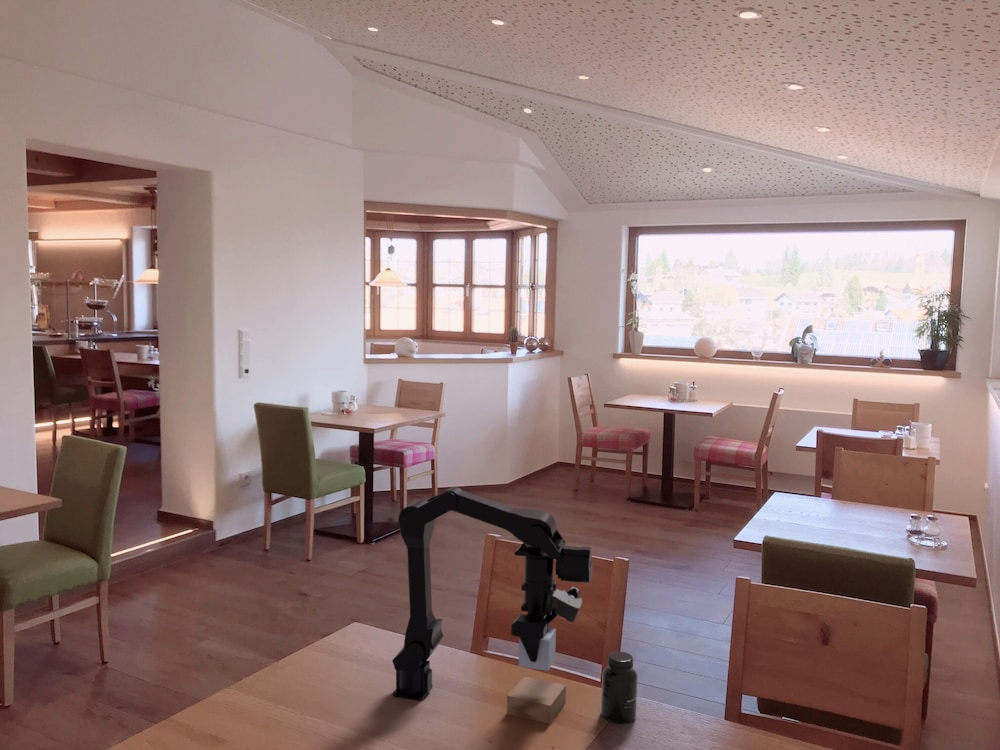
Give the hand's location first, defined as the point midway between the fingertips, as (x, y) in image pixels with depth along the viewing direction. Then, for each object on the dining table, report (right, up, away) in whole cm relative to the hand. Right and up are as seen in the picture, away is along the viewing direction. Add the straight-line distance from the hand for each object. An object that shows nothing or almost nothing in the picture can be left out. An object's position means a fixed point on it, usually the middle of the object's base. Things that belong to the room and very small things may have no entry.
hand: (537, 654), depth 158 cm
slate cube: (0, -2, 0) cm, 2 cm away
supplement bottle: (+16, -12, -1) cm, 20 cm away
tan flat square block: (0, -11, +1) cm, 11 cm away
